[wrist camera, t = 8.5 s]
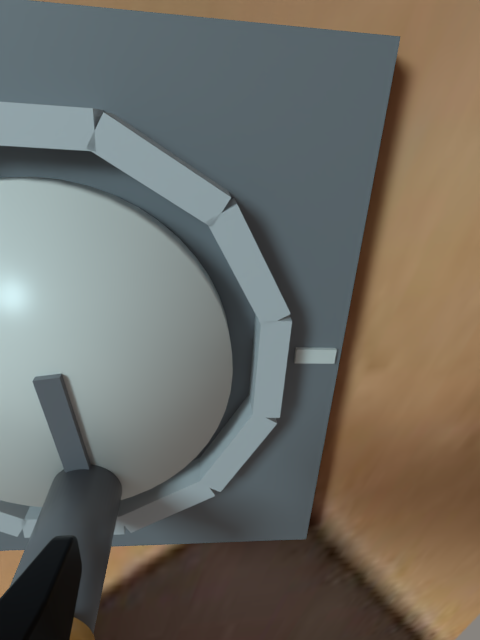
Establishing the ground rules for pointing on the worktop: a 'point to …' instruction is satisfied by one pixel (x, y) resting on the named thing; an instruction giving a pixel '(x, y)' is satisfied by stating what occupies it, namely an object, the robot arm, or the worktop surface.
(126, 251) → the dial knob
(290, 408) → the dial plate
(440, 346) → the worktop surface
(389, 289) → the worktop surface
